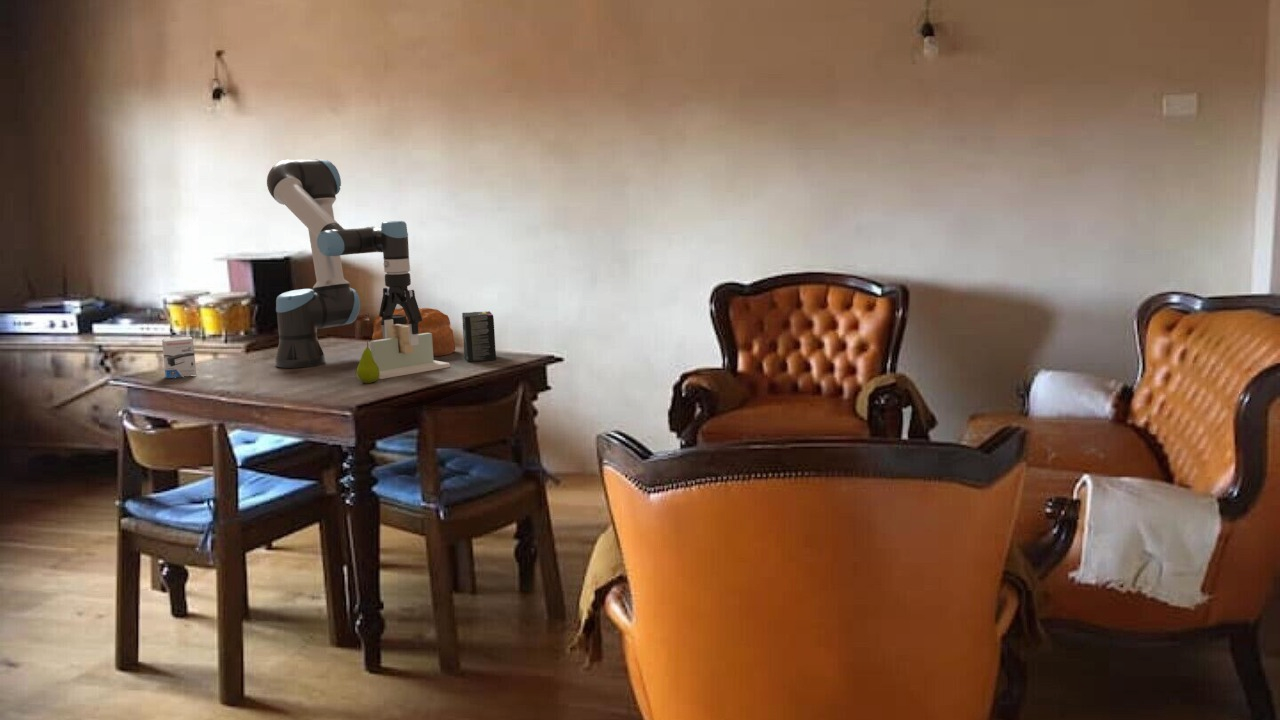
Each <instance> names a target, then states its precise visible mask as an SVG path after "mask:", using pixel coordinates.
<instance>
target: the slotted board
mask: <svg viewBox="0 0 1280 720" xmlns="http://www.w3.org/2000/svg"><path fill="white" fill-rule="evenodd" d="M418 340H419V345H413V348H414V352H413V353H407V354H404V353H399V349H398V338H387V339H380V340H374V341H372V340H370V342H369V343H370V351H371V353H372V357H373V359H374V362H375V363H376V364H377V366H378V368H379V373H380V375H379V378H378V379H381V380H382V379H383V380H384V379H388V378H395V377H398V376H399V377H401V376H407V375H410V374H411V375H412V374H418V373H423V372H430V371H435V370H441V369H446V368H450V367H451V364H450V363H449V362H447V361H446V362H445V361H439V360H434V356H433V343H432V333H422V334H418Z"/></svg>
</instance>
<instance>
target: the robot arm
mask: <svg viewBox="0 0 1280 720" xmlns="http://www.w3.org/2000/svg"><path fill="white" fill-rule="evenodd" d="M266 186H267V191H268V192H269V194H270V195H271V197H272V198H273V200H275V201H276V202H277V203H278V204H279V205H283V206H286V208H287V209H288V210H289V211H291V213H292V214H293V215H294V216H295V217H296V218H297V219H298V220H299V221H300V222H301V223H302V224H303V225H304V226H305V227H306V228H307V231H308V237H309V242H310V249H311V256H312V261H313V267H314V268H313V269H314V273H315V279H316V282H315V283H314V285H313V287H312V288H302V289H301V288H300V289H294V290H289V291H285V292H282V293H281V294H279V295H277V297H276V300H275V305H276V306H275V312H276V317H277V318H276V319H277V329H278V346H277V350H276V355H275V357H274V361H275V363H274V364H275V367H277V368H284V369H285V368H287V369H288V368H289V369H291V368H292V369H296V368H307V367H308V368H309V367H315V366H319V365H322V364H324V363H325V362H326V360H325V359H326V358H325V357H326V356H325V353H324V351H323V348H322V346H321V343H320V341H319V339H318V329H326V328H332V327H343V326H346V325H351V324H353V323H354V322H355V321H356V320H357V318H358V316H359V314H360V310H361V299H360V296H359V294H358V293H357V291H356V289H354V288H351V284H350V281H348V280H347V279H345V278H344V271H343V266H342V265H343V264H342V259H341V258H342V257H341V256H348V255H356V254H358V255H359V254H369V253H371V254H372V253H382V255H383V256H382V257H383V258H382V259H383V269H384V272H385V275H384V285H385V287H382V288H383V289H382V298H381V303H380V307H379V308H380V309H379V315H378V316H380V317H382V318H383V320H384V328H385V339H387V338H390V327H389V325H393V317H392V315H393V313H394V310H395V309H397V305H399V306H400V307H401V308H403V310H404V312H405V314H406V316H407V318H408V320H409V323H408V328H409V343H410V346H412V345H419V340H418V323H419V322H420V321H422V317H421V314H420V311H419V305H418V302H417V300H416V294H415V293H416V292H415V290H414V289H408V286H410V285H411V284H412V283H411V282H412V281H411V273H409V272H410V271H411V266H410V264H411V263H410V253H409V252H410V251H409V248H410V247H409V232H408V227H407V223H406V222H405V220H389V221H387V220H386V221H383V222H382V223H381V224H380V225H381V226H380V227H379V226H378V227H377V226H376V227H375V226H366V227H362V228H348V229H347V228H344V227H342V225H340V224H339V223H338V222H337V221H336V220H335V216H334V215H335V214H334V208H333V204H334V203H335V202H336V201H337V197H336V196H337V195H338V194H339V193H340V191H341V186H342V181H341V176H340V173H339V170H338V169H337V166H335V164H333V163H332V161H330V160H328V159H327V160H326V159H319V158H315V159H311V158H310V159H285V160H281V161H279V162H277V163H275V164H274V165H273V166H272V168H270V169H269V172H268V174H267V177H266ZM383 312H384V313H383Z"/></svg>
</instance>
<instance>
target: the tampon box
mask: <svg viewBox="0 0 1280 720" xmlns="http://www.w3.org/2000/svg"><path fill="white" fill-rule="evenodd" d="M461 314H462V315H461V317H462V318H461V319H462V335H463V336H462V337H463V356H464V358H465V360H466V361H467V362H468V363H471V362H484V361H485V362H487V361H497V355H496V354H497V353H496V336H495V321H494V320H495V319H494V314H493V313H492V312H491V311H472V312H462V313H461Z"/></svg>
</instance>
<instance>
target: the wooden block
mask: <svg viewBox="0 0 1280 720" xmlns="http://www.w3.org/2000/svg"><path fill="white" fill-rule="evenodd" d="M389 327H390V338H398V349H399V353H404V354H407V353H413V352H414V348H413V345H412V346H410V343H409V328H408V326H407V325H401V324H394V325H389Z"/></svg>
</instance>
